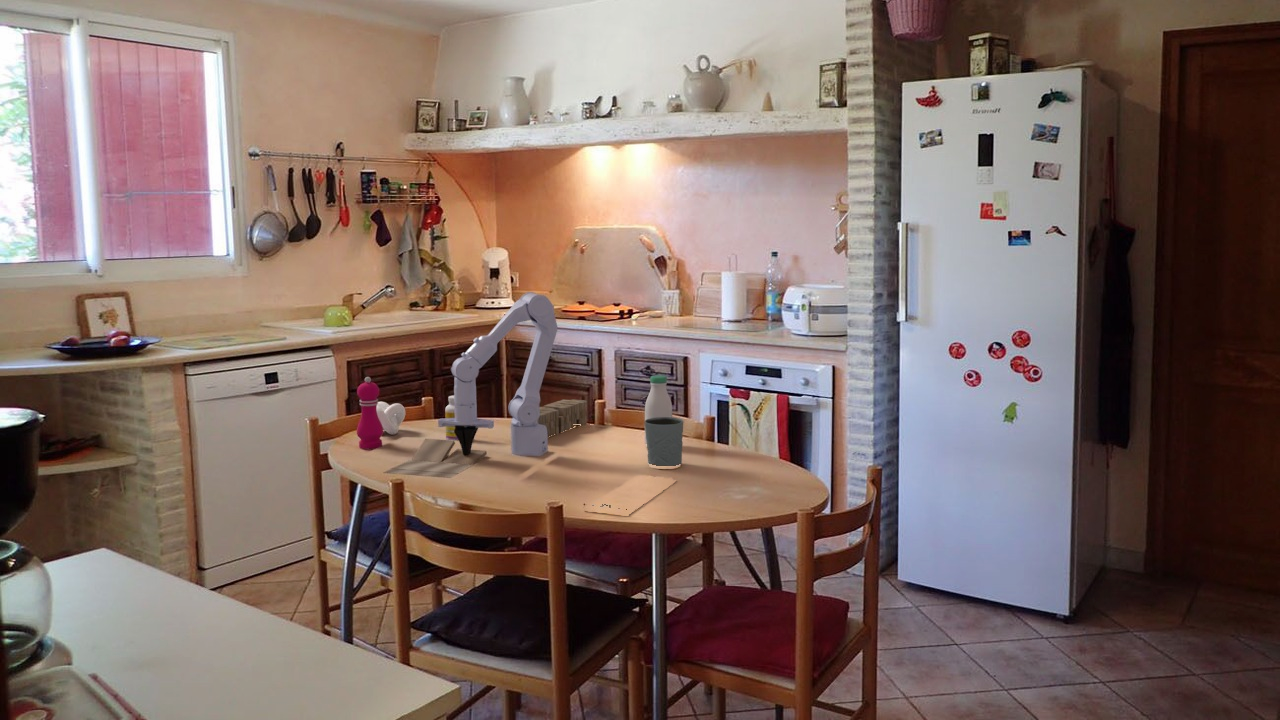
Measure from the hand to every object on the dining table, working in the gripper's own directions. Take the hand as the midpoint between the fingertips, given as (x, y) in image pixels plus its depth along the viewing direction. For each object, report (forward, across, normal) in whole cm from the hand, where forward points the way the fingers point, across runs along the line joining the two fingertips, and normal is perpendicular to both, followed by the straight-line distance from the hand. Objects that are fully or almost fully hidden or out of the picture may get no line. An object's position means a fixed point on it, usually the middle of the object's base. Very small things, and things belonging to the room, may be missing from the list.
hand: (466, 454), depth 272 cm
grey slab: (+2, +6, +12) cm, 14 cm away
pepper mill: (+2, +32, -13) cm, 35 cm away
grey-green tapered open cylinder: (+2, -52, -2) cm, 52 cm away
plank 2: (+1, 0, +1) cm, 2 cm away
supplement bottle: (+2, +10, -24) cm, 26 cm away
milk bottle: (+2, -49, -22) cm, 54 cm away
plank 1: (0, +9, 0) cm, 9 cm away
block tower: (+2, -15, -38) cm, 41 cm away
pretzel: (+2, +35, -31) cm, 47 cm away
